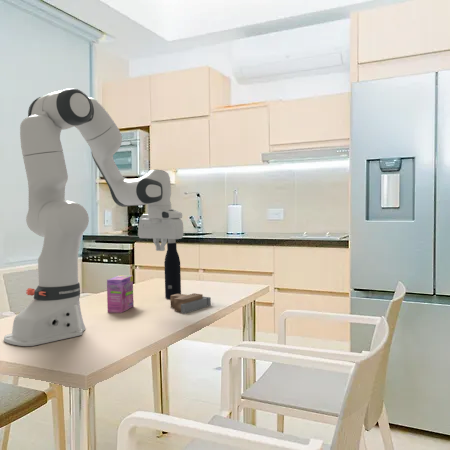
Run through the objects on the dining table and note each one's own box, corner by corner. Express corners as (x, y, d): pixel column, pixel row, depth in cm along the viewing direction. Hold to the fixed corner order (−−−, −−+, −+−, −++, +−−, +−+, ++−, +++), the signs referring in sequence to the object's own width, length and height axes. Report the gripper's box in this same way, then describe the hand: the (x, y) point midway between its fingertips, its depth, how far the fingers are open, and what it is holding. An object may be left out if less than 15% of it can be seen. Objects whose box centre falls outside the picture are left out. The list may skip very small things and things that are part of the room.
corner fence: (184, 313, 154) (184, 304, 154) (164, 310, 160) (163, 302, 160) (210, 305, 167) (210, 297, 167) (190, 302, 172) (190, 295, 172)
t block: (164, 309, 161) (163, 297, 161) (184, 303, 170) (183, 292, 170) (183, 312, 156) (182, 299, 156) (202, 306, 165) (202, 294, 165)
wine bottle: (179, 295, 187) (177, 223, 186) (182, 298, 181) (180, 223, 180) (164, 296, 185) (161, 224, 184) (167, 299, 179) (164, 224, 178)
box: (122, 313, 158) (121, 279, 157) (107, 312, 159) (106, 279, 158) (134, 306, 168) (133, 275, 167) (119, 306, 169) (118, 275, 169)
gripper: (133, 214, 172) (134, 250, 172) (174, 213, 160) (174, 252, 160) (145, 214, 177) (146, 249, 177) (185, 213, 165) (186, 251, 165)
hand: (160, 250), depth 168 cm, fingers closed
